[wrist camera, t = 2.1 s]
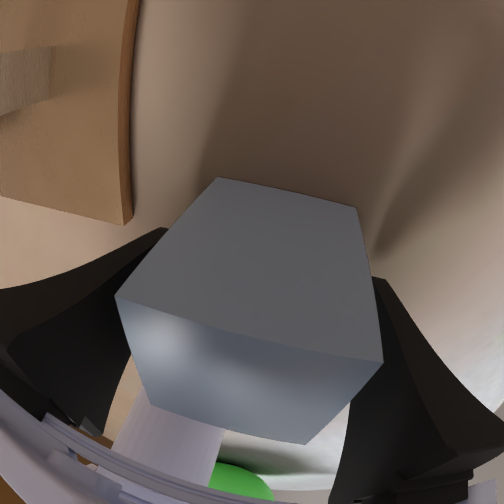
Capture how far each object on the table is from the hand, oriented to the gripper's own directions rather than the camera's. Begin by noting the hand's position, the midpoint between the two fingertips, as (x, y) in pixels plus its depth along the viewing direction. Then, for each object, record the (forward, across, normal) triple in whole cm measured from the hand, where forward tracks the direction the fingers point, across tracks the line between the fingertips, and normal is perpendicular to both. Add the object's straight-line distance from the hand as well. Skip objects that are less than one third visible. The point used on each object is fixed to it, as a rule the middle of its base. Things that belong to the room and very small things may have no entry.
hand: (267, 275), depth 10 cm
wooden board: (+2, +12, -7) cm, 14 cm away
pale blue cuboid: (+2, 0, 0) cm, 2 cm away
